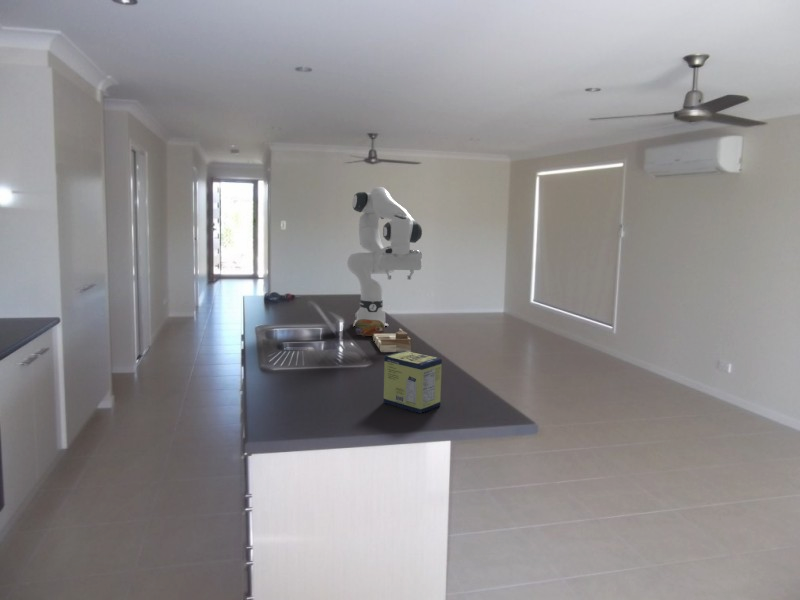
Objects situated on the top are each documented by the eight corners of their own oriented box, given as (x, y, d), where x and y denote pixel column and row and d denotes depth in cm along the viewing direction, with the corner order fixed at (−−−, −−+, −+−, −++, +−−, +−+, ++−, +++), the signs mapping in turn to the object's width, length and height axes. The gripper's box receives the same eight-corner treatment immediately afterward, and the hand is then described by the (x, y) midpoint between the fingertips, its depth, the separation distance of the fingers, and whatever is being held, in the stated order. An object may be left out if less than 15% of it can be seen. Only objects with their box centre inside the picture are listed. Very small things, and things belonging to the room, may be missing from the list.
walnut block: (395, 341, 262) (395, 332, 261) (405, 341, 263) (405, 331, 262) (397, 343, 257) (398, 334, 257) (407, 343, 258) (407, 333, 258)
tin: (354, 335, 287) (354, 318, 285) (356, 334, 290) (356, 317, 288) (383, 338, 282) (383, 321, 281) (385, 337, 285) (385, 320, 284)
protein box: (402, 395, 195) (404, 349, 192) (441, 406, 185) (443, 358, 183) (382, 402, 187) (383, 355, 184) (421, 414, 177) (422, 364, 175)
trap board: (373, 340, 277) (373, 328, 276) (400, 339, 280) (400, 328, 279) (381, 352, 254) (381, 339, 253) (410, 351, 256) (411, 339, 256)
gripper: (420, 249, 277) (419, 278, 279) (377, 249, 273) (377, 278, 275) (423, 250, 271) (422, 280, 273) (379, 249, 267) (379, 280, 269)
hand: (399, 279), depth 274 cm, fingers open, 8 cm apart
